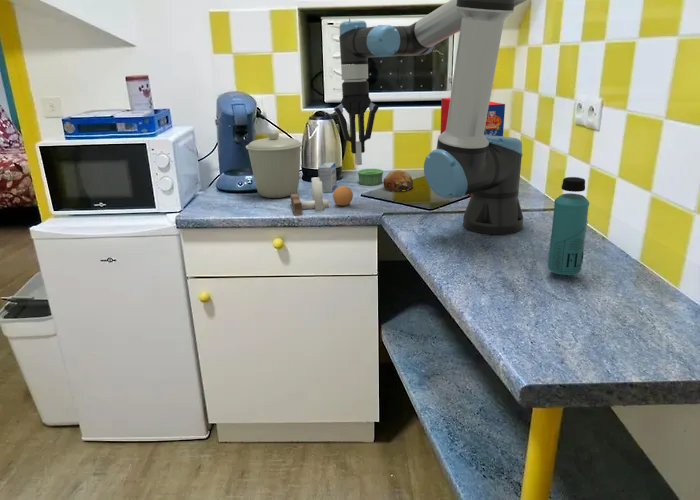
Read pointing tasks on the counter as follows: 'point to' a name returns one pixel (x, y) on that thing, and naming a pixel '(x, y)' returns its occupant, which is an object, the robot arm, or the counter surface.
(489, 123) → the pasta box
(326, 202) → the pin front
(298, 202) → the back rail
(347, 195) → the ball
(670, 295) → the counter surface
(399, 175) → the bread roll
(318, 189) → the pin
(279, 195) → the canister
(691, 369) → the counter surface
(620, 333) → the counter surface
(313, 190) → the pin
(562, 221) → the beverage bottle
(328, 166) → the medicine box
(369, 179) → the ramekin
